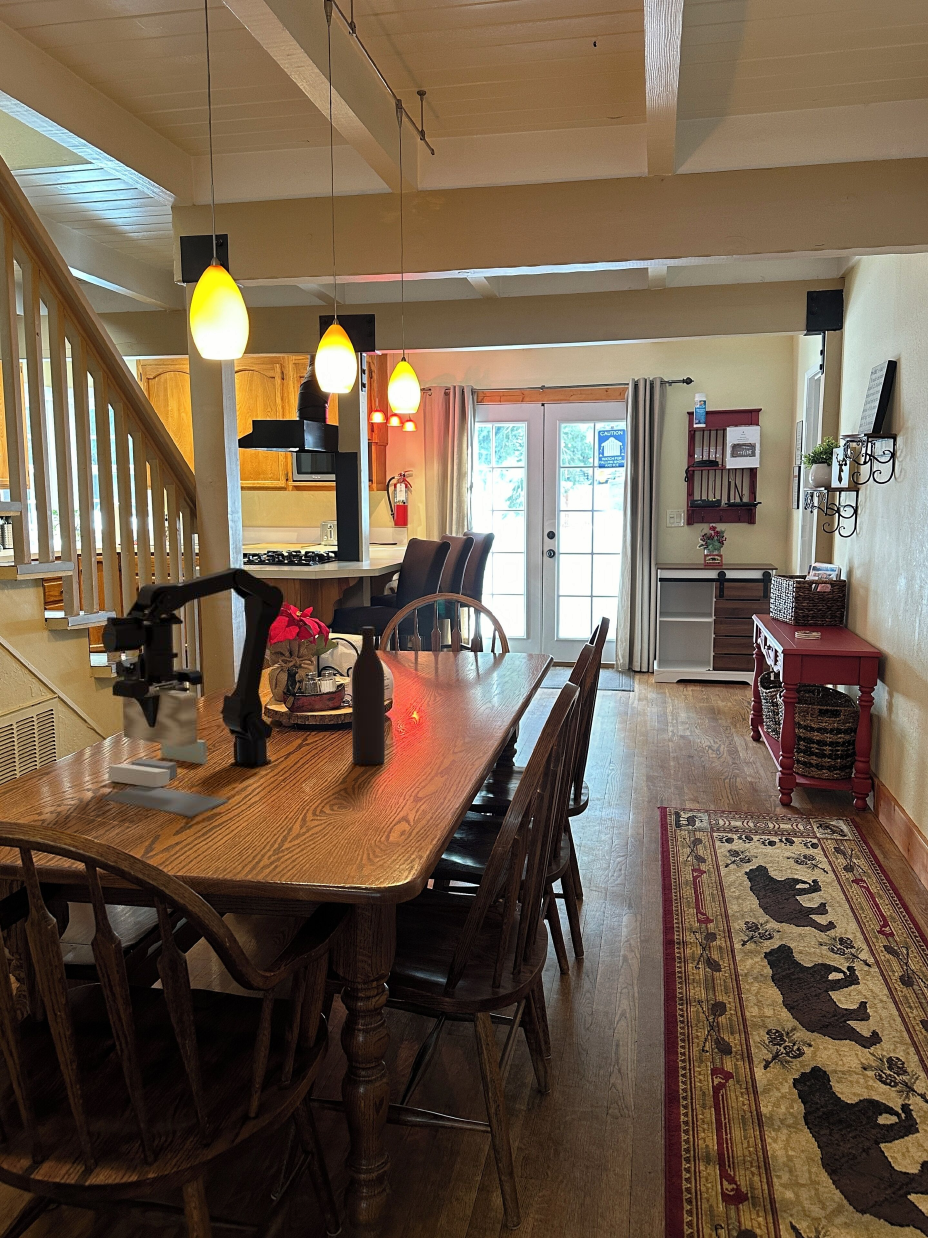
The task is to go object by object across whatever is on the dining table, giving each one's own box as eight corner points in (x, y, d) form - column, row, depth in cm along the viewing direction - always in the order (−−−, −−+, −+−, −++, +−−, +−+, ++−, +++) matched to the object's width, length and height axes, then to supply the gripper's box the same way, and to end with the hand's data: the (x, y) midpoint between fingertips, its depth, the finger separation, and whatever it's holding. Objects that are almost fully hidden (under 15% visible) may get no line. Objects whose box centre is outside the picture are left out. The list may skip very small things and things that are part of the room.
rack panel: (207, 763, 202) (206, 740, 202) (203, 764, 201) (202, 742, 201) (165, 756, 207) (164, 734, 207) (161, 757, 206) (160, 736, 206)
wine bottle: (389, 759, 206) (388, 626, 203) (378, 767, 200) (377, 629, 196) (359, 757, 208) (358, 624, 205) (347, 765, 201) (346, 628, 198)
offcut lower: (168, 785, 186) (169, 770, 186) (155, 787, 182) (156, 772, 183) (122, 778, 191) (123, 763, 191) (107, 780, 187) (109, 765, 187)
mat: (228, 801, 176) (228, 799, 175) (191, 817, 167) (191, 815, 167) (141, 786, 185) (141, 784, 185) (102, 800, 176) (102, 798, 176)
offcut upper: (167, 782, 188) (177, 779, 191) (167, 766, 188) (176, 763, 191) (131, 778, 192) (141, 774, 194) (131, 762, 191) (141, 758, 194)
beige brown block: (197, 743, 183) (196, 693, 182) (182, 747, 180) (181, 696, 179) (139, 733, 191) (137, 685, 190) (123, 737, 187) (122, 688, 186)
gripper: (163, 639, 195) (165, 712, 197) (91, 650, 179) (93, 729, 180) (203, 643, 190) (204, 718, 192) (132, 655, 174) (134, 736, 175)
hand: (160, 725), depth 185 cm, fingers closed on beige brown block, 4 cm apart
